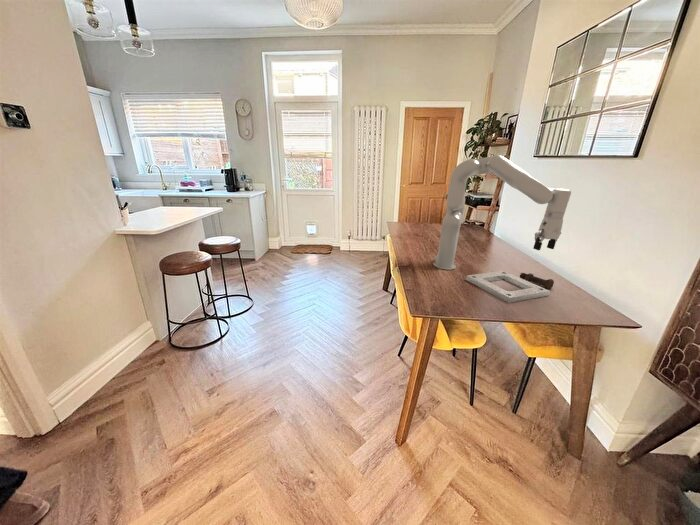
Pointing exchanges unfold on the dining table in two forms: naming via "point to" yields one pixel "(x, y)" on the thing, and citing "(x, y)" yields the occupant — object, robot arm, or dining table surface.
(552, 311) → the dining table surface
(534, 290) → the plate
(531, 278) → the bolt
